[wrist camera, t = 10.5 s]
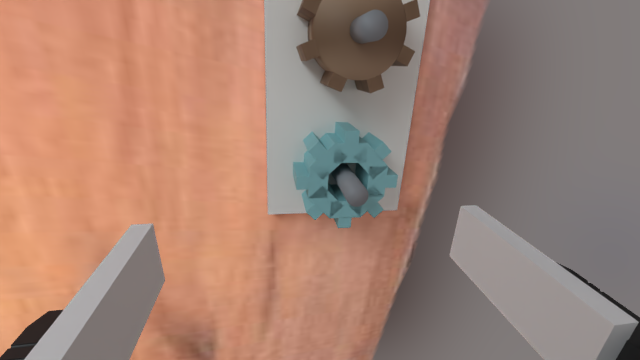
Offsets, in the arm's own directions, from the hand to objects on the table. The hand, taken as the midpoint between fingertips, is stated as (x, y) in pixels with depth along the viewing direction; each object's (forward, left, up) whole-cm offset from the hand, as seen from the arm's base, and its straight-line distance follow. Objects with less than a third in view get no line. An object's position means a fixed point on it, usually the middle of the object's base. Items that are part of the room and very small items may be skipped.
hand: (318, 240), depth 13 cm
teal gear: (+2, +5, -17) cm, 17 cm away
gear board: (-4, +5, -18) cm, 19 cm away
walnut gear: (-10, +5, -17) cm, 20 cm away
